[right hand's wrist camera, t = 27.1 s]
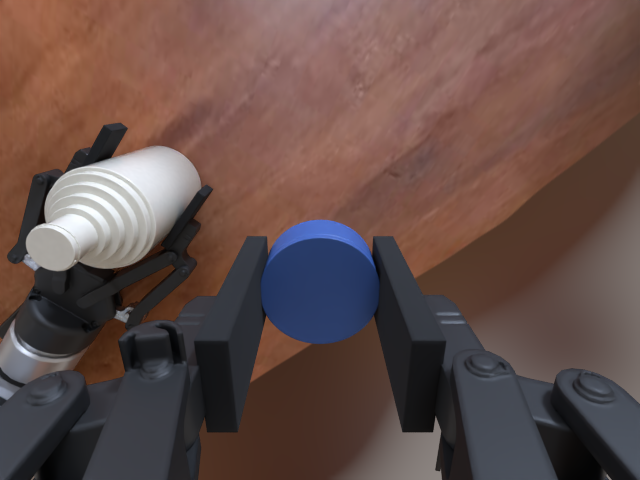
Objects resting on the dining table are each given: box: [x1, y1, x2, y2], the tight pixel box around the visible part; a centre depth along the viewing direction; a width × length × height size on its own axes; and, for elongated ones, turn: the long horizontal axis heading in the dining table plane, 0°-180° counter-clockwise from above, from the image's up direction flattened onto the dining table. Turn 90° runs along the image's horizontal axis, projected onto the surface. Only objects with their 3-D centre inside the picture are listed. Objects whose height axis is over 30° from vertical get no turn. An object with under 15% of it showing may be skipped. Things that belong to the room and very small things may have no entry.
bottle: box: [26, 146, 201, 271], centre depth 32 cm, size 8×8×18 cm
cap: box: [261, 220, 380, 344], centre depth 14 cm, size 4×4×2 cm
